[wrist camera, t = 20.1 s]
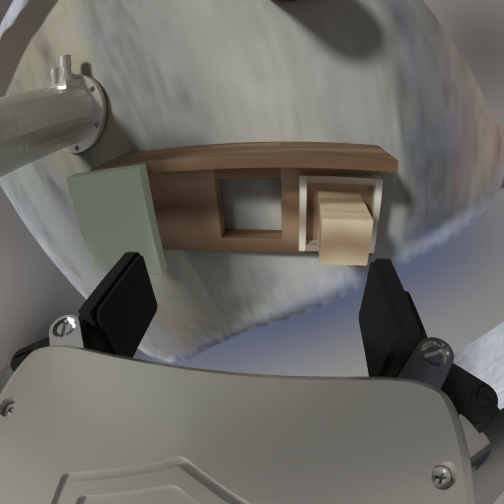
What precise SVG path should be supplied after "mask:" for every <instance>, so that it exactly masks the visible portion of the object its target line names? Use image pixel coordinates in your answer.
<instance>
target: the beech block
mask: <svg viewBox="0 0 504 504" xmlns="http://www.w3.org/2000/svg"><path fill="white" fill-rule="evenodd" d="M372 229H373V219H372V217H371V215H370V213H369V211H368V209H367V207H366V205H365V203H364V201H363V199H362V197H361V195H360V193H351V192H326V191H318V215H317V237H318V251H319V264H331V265H367V262H368V256H369V250H370V243H371V236H372Z"/></svg>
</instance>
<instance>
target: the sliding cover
mask: <svg viewBox="0 0 504 504" xmlns="http://www.w3.org/2000/svg"><path fill="white" fill-rule="evenodd" d="M67 182H68V187H69V191H70V195H71V198H72V202H73V206H74V209H75V213H76V217H77V220H78V223H79V227H80V230H81V233H82V236H83V239H84V242H85V246H86V249H87V251H88V254H89V257H90V260H91V263H92V266H93V268H94V269H97V270H109V271H110V270H111V269H112V268H113V266H114V265H115V264H116V263H117V262H118V260H119V259H120V258H121V257H122V256H123V255H124V253H126V252H139V253H140V255H141V256H143V257H144V260H145V264H146V267H147V271H148V273H149V274H163V273H164V271H165V270H166V268H167V265H166V261H165V256H164V252H163V248H162V244H161V239H160V235H159V230H158V225H157V221H156V216H155V211H154V206H153V201H152V196H151V190H150V185H149V179H148V173H147V168H146V164H139V165H131V166H123V167H116V168H109V169H103V170H96V171H90V172H84V173H78V174H74V175H72V176H70V177H68V178H67Z"/></svg>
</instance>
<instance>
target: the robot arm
mask: <svg viewBox="0 0 504 504" xmlns="http://www.w3.org/2000/svg"><path fill="white" fill-rule="evenodd" d="M59 69H60V77H59V78H58V76H59V72H58V68H54V69H51V70H50V77H51V84H50V87H49V88H43V89H38V90H32V91H27V92H22V93H17V94H13V95H9V96H4V97H0V177H2V176H4V175H6V174H8V173H10V172H12V171H14V170H16V169H18V168H20V167H22V166H24V165H26V164H28V163H30V162H33V161H35V160H37V159H39V158H42V157H44V156H46V155H49V154H51V153H53V152H56V151H58V150H61V149H62V150H64V151H66V152H68V153H79V152H82V151H85V150H87V149H89V148H90V147H91V146H93V145H94V144H95V142H96V141H97V140H98V138H99V137H100V135H101V133H102V131H103V128H104V125H105V121H106V101H105V96H104V93H103V91H102V89H101V87H100V85H99V84H98V83H97V82H96V81H95V79H93V78H92V77H90V76H88V75H84V74H75V75H74V73H71V55H64V56H61V57H59ZM156 311H157V302H156V299H155V295H154V292H153V289H152V285H151V282H150V278H149V275H148V271H147V267H146V264H145V260H144V257H143V256H141V255H140V253H139V252H126V253H124V255H123V256H122V257H121V258H120V259H119V260H118V262H117V263H116V264H115V265H114V266H113V268H112V269H111V270H110V271H109V273H108V274H107V275H106V276H105V277H104V279H103V280H102V281H101V282H100V284H99V285H98V286H97V287H96V289H95V290H94V291H93V292H92V294H91V295H90V296H89V298H88V299H87V300H86V302H85V303H84V304H83V306H82V307H81V308H80V309H79V311H78V312H79V314H80V316H79V318H77V317H76V316H73V315H66V316H63V317H61V318H59V319H57V320H56V321H55V322H54V323H53V324H52V325H51V327H50V330H49V337H47V338H45V339H43V340H41V341H38V342H36V343H34V344H32V345H29V346H27V347H25V348H22V349H21V350H18V351H17V352H16V353H15V355H14V356H13V357H12V360H11V367H10V368H9V366H8V365H7V366H6V367H4V368H3V369H2V370H0V504H493V503H494V502H495V500H496V499H497V498H498V497H499V496H500V494H501V493H502V492H503V491H504V408H502V409H501V410H500V409H499V408H498V407H497V406H498V397H497V394H496V392H495V391H494V389H493V388H492V387H491V386H489V385H488V384H486V383H485V382H483V381H481V380H480V379H478V378H477V377H475V376H473V375H472V374H470V373H468V372H467V371H465V370H464V369H462V368H460V367H459V366H457V365H455V364H454V363H453V360H454V354H453V351H452V349H451V347H450V346H449V345H448V344H447V343H446V342H445V341H443V340H441V339H438V338H434V337H430V338H428V337H427V335H426V332H425V330H424V327H423V324H422V322H421V320H420V317H419V315H418V312H417V310H416V307H415V305H414V303H413V301H412V298H411V296H410V294H409V292H407V291H404V289H403V286H402V284H401V282H400V280H399V277H398V275H397V273H396V271H395V269H394V266H393V264H392V262H391V260H390V259H376V260H375V262H371V264H370V267H369V272H368V277H367V282H366V286H365V291H364V296H363V299H362V304H361V308H360V312H359V324H360V329H361V334H362V339H363V345H364V350H365V355H366V361H367V367H368V373H369V377H308V376H279V375H262V374H248V373H235V372H226V371H216V370H207V369H199V368H192V367H184V366H177V365H171V364H164V363H158V362H152V361H146V360H140V359H136V358H133V356H134V354H135V352H136V350H137V348H138V346H139V344H140V342H141V340H142V338H143V336H144V334H145V332H146V330H147V328H148V326H149V324H150V322H151V321H152V319H153V317H154V315H155V313H156Z"/></svg>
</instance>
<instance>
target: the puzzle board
mask: <svg viewBox="0 0 504 504" xmlns="http://www.w3.org/2000/svg"><path fill="white" fill-rule="evenodd" d="M139 164H146V168H147V173H148V179H149V185H150V190H151V196H152V201H153V206H154V211H155V216H156V221H157V225H158V230H159V235H160V239H161V244H162V248H163V249H179V250H214V251H249V252H283V253H317V254H319V251H318V237H317V215H318V191H326V192H351V193H360V195H361V197H362V199H363V201H364V203H365V205H366V207H367V209H368V211H369V213H370V215H371V217H372V219H373V229H372V236H371V243H370V250H369V255H372V253H374V249H375V242H376V236H377V229H378V222H379V214H380V205H381V196H382V186H383V178H382V171H384V172H396V173H397V171H398V160H397V159H395V158H394V157H393V156H391V155H390V154H389V153H388V152H386V151H385V150H384V149H382V148H381V147H379V146H377V145H365V144H349V143H328V142H248V143H227V144H211V145H198V146H187V147H177V148H167V149H159V150H151V151H143V152H136V153H129V154H124V155H122V156H119V157H117V158H115V159H113V160H111V161H109V162H107V163H105V164H103V165H100V166H98V167H96V168H94V169H92V170H91V171H96V170H103V169H109V168H116V167H123V166H131V165H139ZM89 172H90V171H89ZM262 178H281V207H282V230H240V229H226V227H225V218H224V209H223V200H222V190H221V180H220V179H262Z"/></svg>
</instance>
